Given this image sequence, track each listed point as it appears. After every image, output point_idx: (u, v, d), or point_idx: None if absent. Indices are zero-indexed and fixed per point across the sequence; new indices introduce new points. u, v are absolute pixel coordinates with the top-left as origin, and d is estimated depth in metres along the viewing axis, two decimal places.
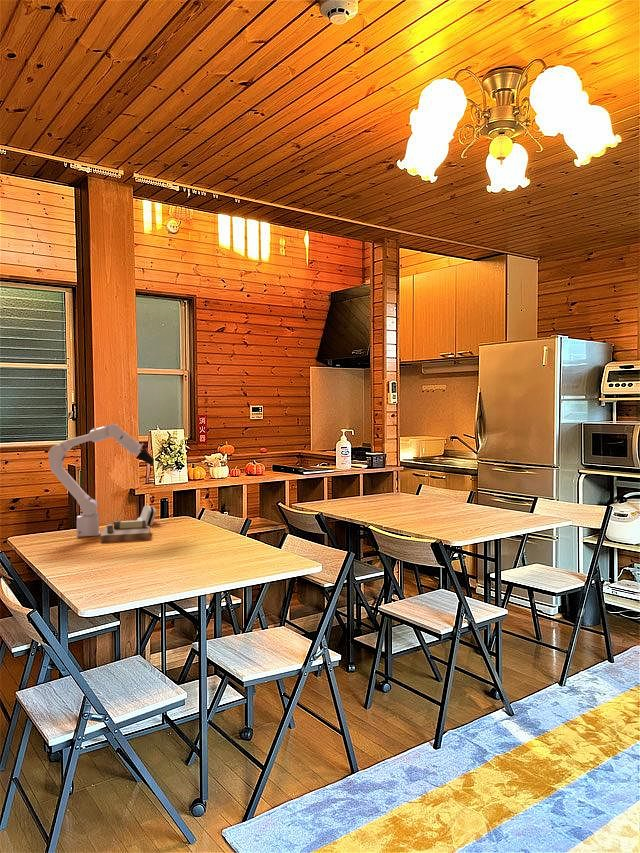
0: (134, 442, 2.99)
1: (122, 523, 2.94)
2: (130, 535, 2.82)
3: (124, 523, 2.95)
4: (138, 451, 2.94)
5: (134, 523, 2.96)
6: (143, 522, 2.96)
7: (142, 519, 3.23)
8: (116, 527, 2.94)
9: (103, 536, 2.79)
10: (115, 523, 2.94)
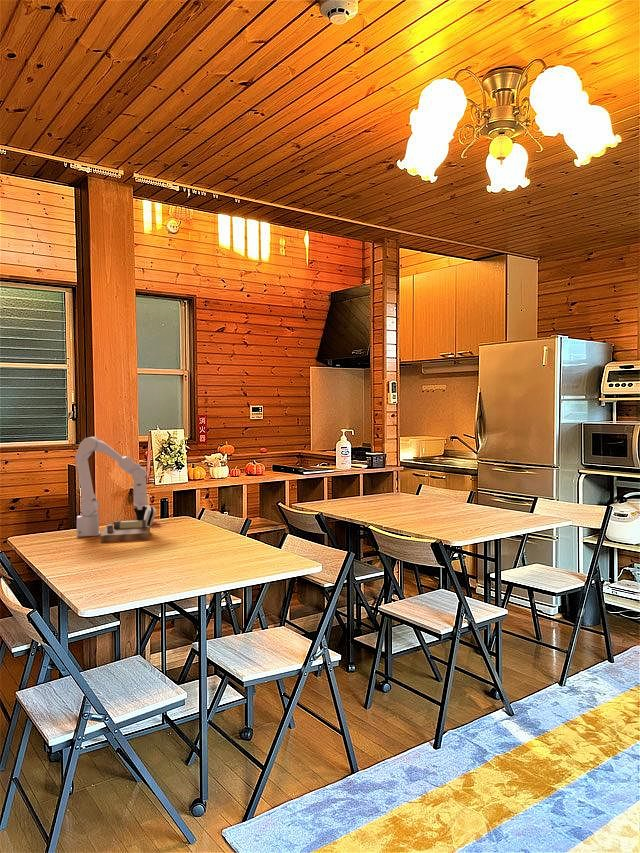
0: (144, 497, 2.98)
1: (122, 523, 2.94)
2: (130, 535, 2.82)
3: (124, 523, 2.95)
4: (140, 507, 2.92)
5: (134, 523, 2.96)
6: (143, 522, 2.96)
7: None
8: (116, 527, 2.94)
9: (103, 536, 2.79)
10: (115, 523, 2.94)
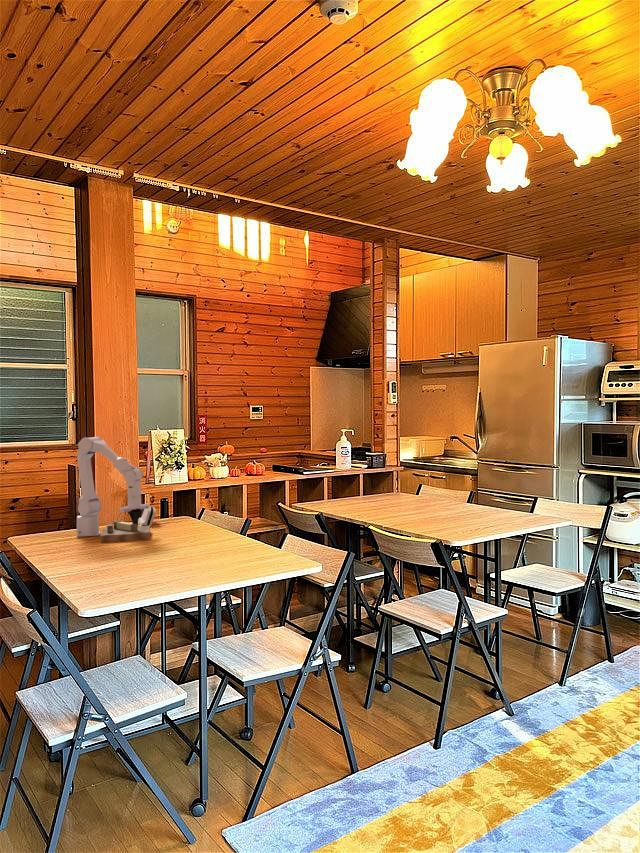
0: (133, 500, 2.88)
1: (118, 524, 2.93)
2: (130, 535, 2.82)
3: (119, 524, 2.92)
4: (121, 510, 2.85)
5: (126, 526, 2.90)
6: (131, 526, 2.87)
7: (142, 519, 3.23)
8: (114, 527, 2.94)
9: (103, 536, 2.79)
10: None
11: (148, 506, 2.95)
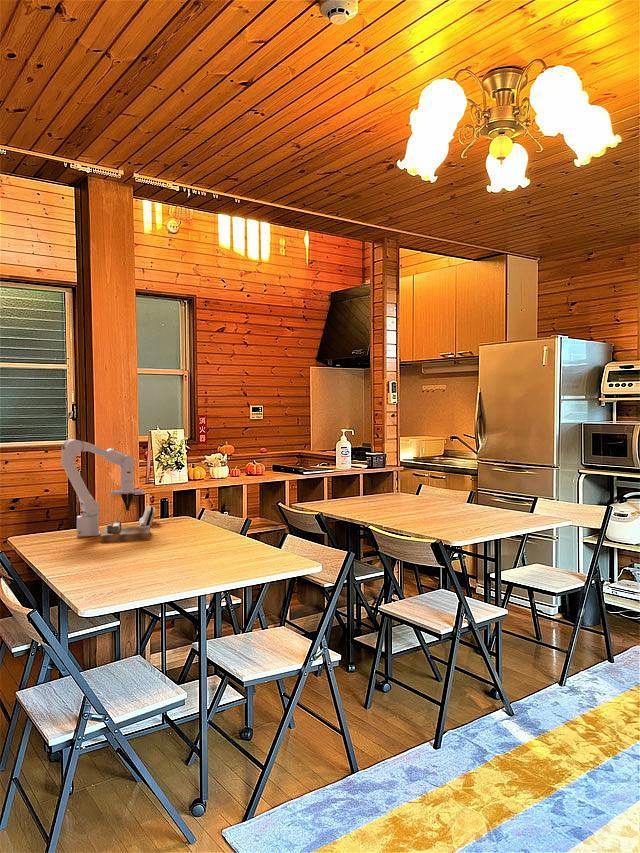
0: (122, 485, 3.04)
1: None
2: (130, 535, 2.82)
3: (114, 524, 2.92)
4: (111, 493, 3.04)
5: None
6: (112, 528, 2.84)
7: (143, 519, 3.22)
8: None
9: (103, 536, 2.79)
10: None
11: (142, 492, 3.07)
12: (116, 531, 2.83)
